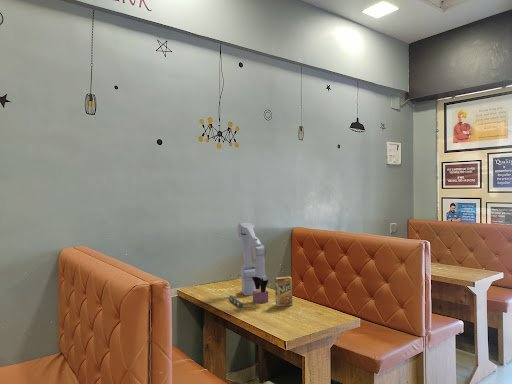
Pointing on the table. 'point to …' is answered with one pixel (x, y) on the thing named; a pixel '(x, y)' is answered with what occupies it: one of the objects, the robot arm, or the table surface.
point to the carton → (260, 296)
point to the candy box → (283, 291)
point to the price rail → (236, 301)
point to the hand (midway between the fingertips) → (260, 290)
